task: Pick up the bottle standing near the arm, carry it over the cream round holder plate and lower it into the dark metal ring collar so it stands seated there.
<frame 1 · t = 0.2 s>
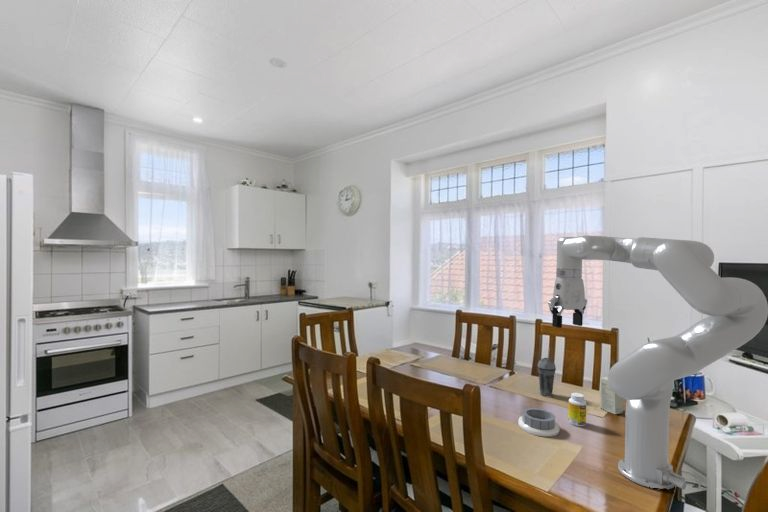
hand: (567, 326, 120), 36 cm above the table, tool pointing down, fingers open, 9 cm apart
supplement bottle: (577, 424, 129), on the table
beverage cup: (546, 395, 155), on the table
rubber duck: (636, 425, 128), on the table
holder: (538, 427, 125), on the table
skincare box: (611, 411, 140), on the table
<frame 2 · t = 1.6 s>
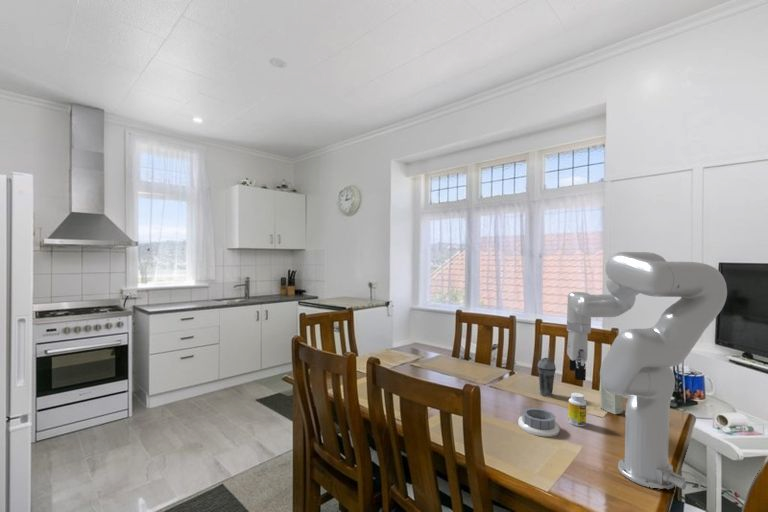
hand: (577, 375, 129), 17 cm above the table, tool pointing down, fingers open, 9 cm apart
nothing on the table moved.
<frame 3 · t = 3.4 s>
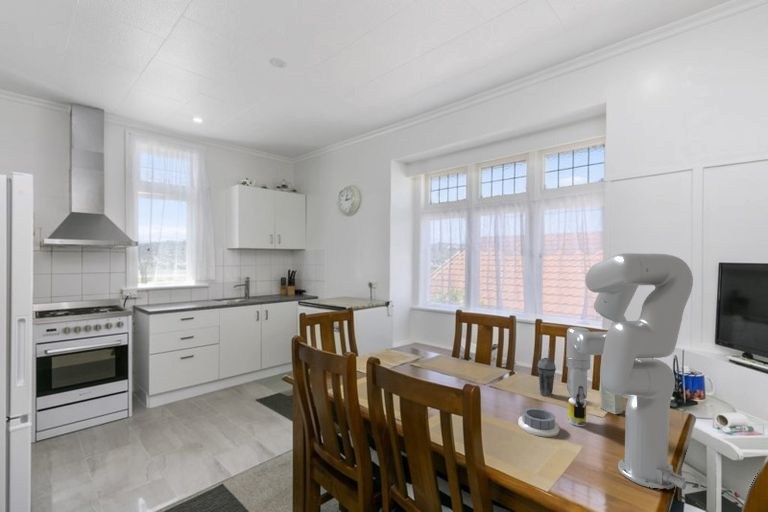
hand: (577, 413, 129), 4 cm above the table, tool pointing down, fingers closed on supplement bottle, 5 cm apart
supplement bottle: (577, 424, 129), on the table, touching gripper
everything else where it was.
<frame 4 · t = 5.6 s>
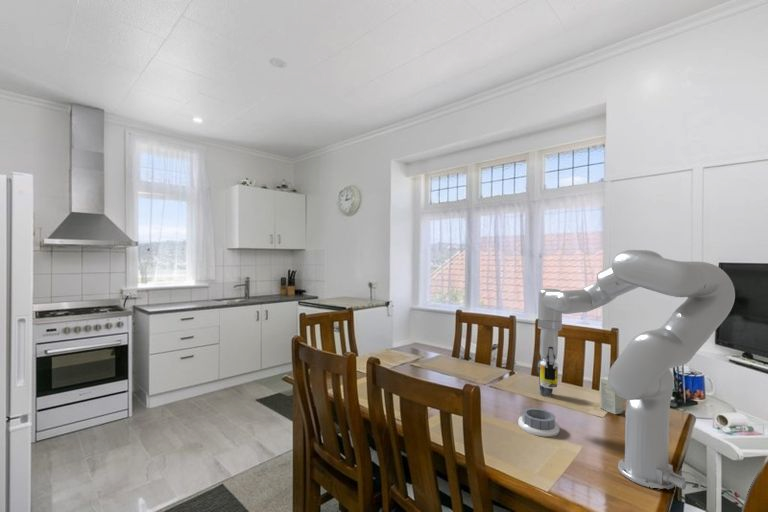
hand: (548, 376, 126), 17 cm above the table, tool pointing down, fingers closed on supplement bottle, 5 cm apart
supplement bottle: (548, 386, 126), point 14 cm above the table, touching gripper
everything else where it was.
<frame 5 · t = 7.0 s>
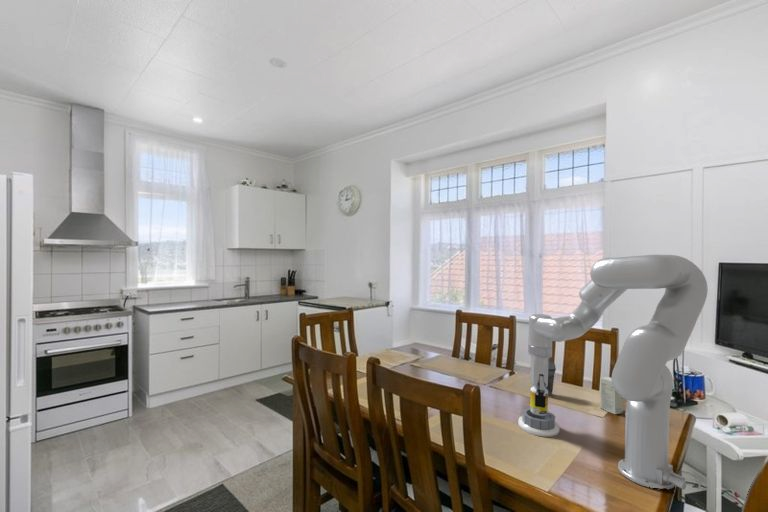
hand: (539, 402, 125), 9 cm above the table, tool pointing down, fingers closed on supplement bottle, 5 cm apart
supplement bottle: (538, 413, 125), point 5 cm above the table, touching gripper
everything else where it was.
when the fingers open (6 cm above the table, at t = 7.9 s): supplement bottle stays where it is, resting on holder.
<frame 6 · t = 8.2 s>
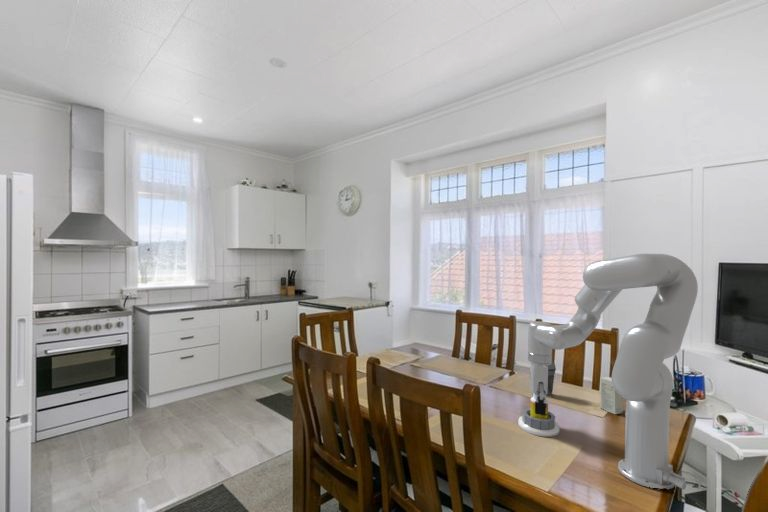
hand: (538, 408, 125), 6 cm above the table, tool pointing down, fingers open, 7 cm apart
supplement bottle: (538, 423, 125), point 1 cm above the table, touching holder
everything else where it was.
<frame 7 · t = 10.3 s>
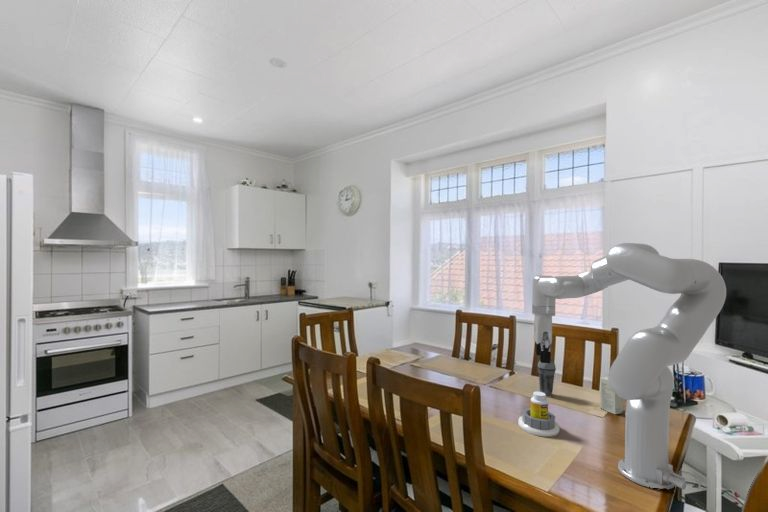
hand: (542, 358, 128), 23 cm above the table, tool pointing down, fingers open, 9 cm apart
nothing on the table moved.
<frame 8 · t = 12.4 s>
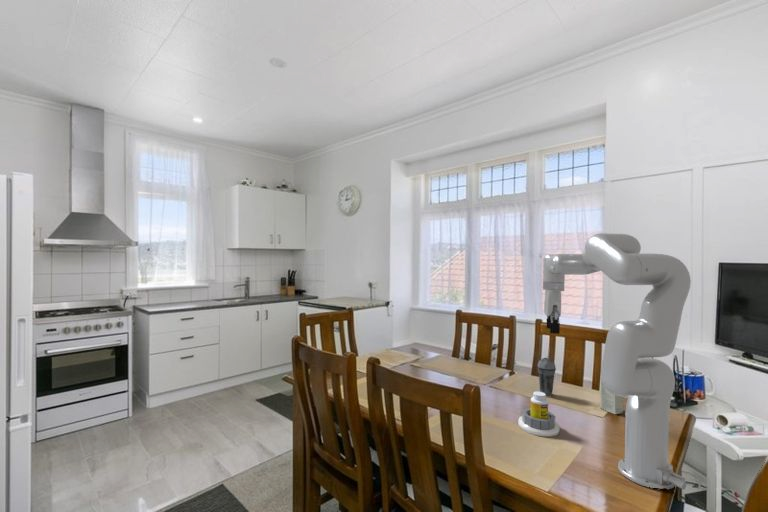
hand: (552, 330, 140), 30 cm above the table, tool pointing down, fingers open, 9 cm apart
nothing on the table moved.
at the end: supplement bottle 0.2 cm off-centre on the holder, point 1.3 cm above the holder's base; supplement bottle tilted 0°; the gripper is holding nothing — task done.
